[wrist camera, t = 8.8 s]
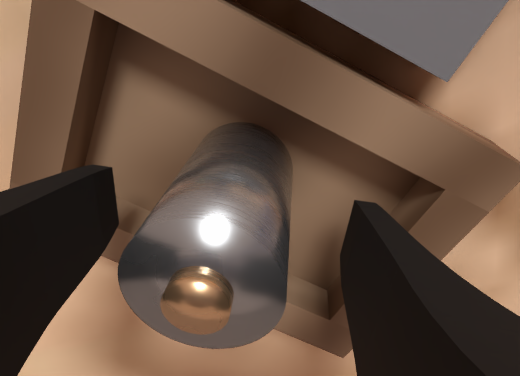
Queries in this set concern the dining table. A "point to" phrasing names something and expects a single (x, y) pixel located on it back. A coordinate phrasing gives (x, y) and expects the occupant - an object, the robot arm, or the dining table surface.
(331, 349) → the shallow wooden tray
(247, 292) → the cell
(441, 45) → the grey tray with pegs
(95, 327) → the dining table surface
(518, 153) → the dining table surface
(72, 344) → the dining table surface
